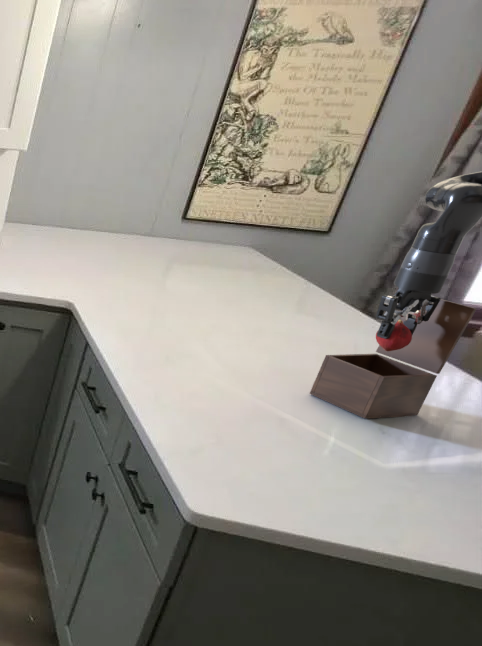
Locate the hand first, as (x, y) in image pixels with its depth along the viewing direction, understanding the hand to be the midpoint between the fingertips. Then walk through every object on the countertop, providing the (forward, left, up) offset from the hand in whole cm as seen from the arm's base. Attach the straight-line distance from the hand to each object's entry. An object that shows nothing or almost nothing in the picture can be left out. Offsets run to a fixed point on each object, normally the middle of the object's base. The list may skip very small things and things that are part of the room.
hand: (393, 337), depth 149 cm
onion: (0, 0, -4) cm, 4 cm away
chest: (0, 0, -18) cm, 18 cm away
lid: (-8, 0, +1) cm, 8 cm away
